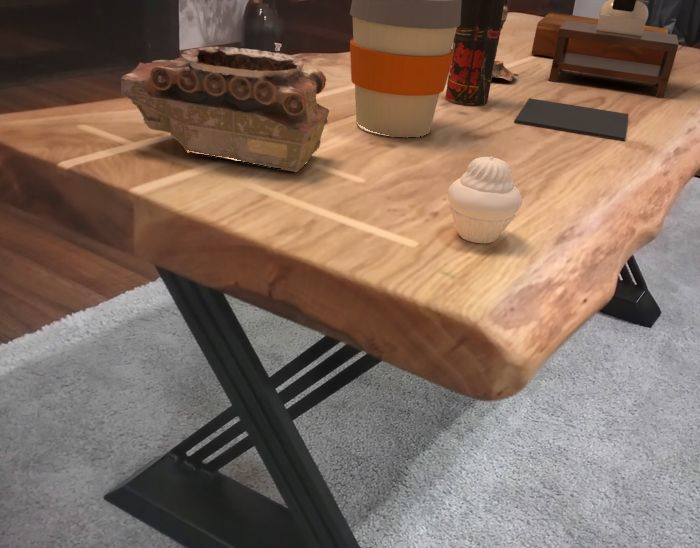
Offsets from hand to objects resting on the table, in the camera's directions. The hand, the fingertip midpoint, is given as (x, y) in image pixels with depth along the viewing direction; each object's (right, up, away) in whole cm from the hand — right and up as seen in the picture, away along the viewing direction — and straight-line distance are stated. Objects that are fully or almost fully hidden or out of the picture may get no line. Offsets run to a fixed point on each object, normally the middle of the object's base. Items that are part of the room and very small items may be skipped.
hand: (623, 7), depth 122 cm
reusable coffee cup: (-38, -27, -28) cm, 55 cm away
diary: (+4, +2, +27) cm, 27 cm away
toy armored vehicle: (-57, -35, -44) cm, 80 cm away
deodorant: (-27, -19, -13) cm, 36 cm away
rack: (-1, -10, +6) cm, 12 cm away
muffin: (-32, -45, -56) cm, 79 cm away
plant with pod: (-22, -11, +2) cm, 25 cm away
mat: (-13, -23, -18) cm, 32 cm away
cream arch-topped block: (0, -3, +2) cm, 4 cm away
